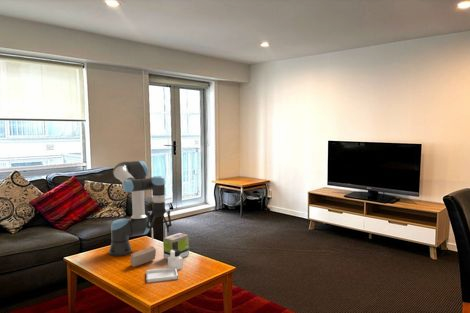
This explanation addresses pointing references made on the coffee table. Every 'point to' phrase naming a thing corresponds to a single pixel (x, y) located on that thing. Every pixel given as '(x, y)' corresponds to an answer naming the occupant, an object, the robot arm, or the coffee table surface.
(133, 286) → the coffee table surface
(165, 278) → the tray
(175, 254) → the medicine bottle
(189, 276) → the coffee table surface
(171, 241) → the tea box
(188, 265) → the coffee table surface
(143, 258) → the brick
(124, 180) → the robot arm
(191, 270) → the coffee table surface
